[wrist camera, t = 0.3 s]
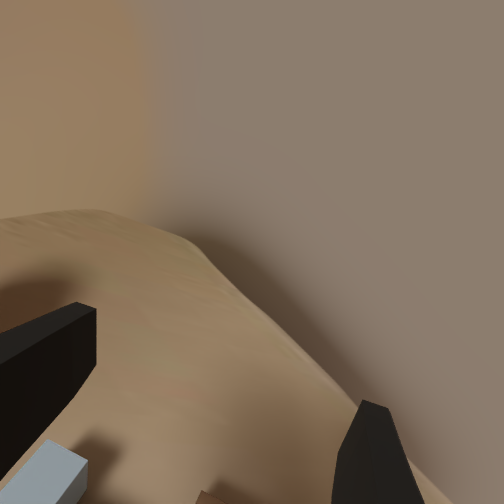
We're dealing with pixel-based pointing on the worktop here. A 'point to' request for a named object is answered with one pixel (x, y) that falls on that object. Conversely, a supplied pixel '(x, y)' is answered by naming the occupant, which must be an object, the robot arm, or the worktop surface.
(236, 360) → the worktop surface
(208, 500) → the walnut cradle
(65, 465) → the t block
